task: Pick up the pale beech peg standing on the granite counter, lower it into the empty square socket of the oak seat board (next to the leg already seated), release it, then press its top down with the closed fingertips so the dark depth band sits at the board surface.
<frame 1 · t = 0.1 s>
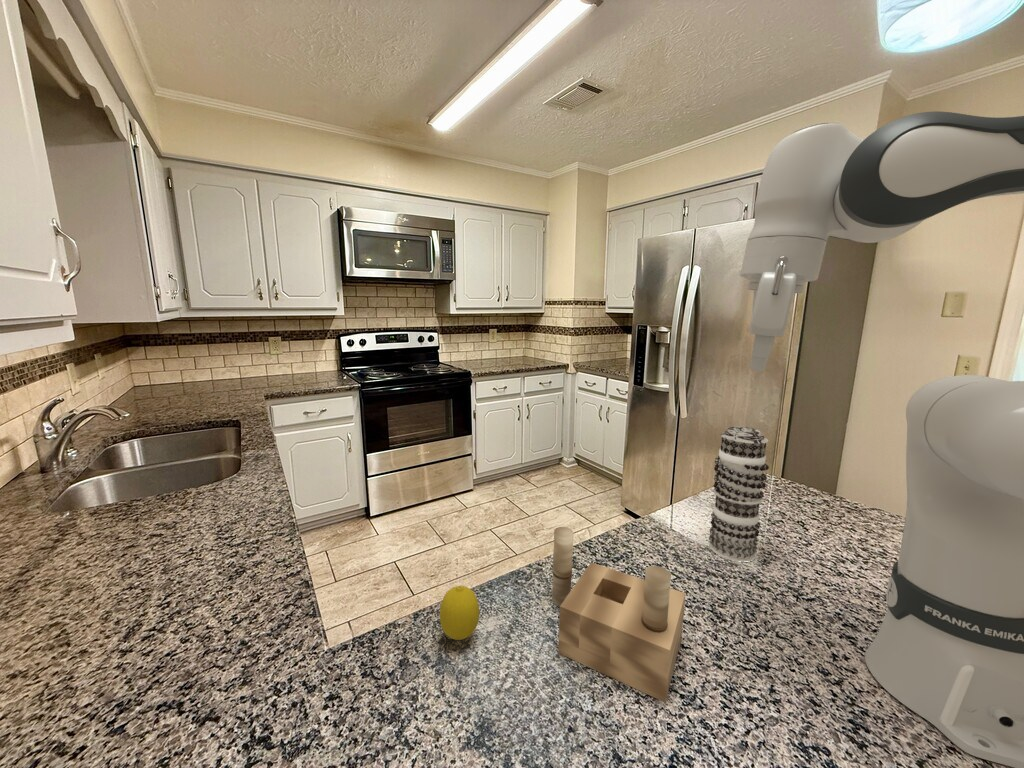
hand: (756, 367, 57), 39 cm above the countertop, tool pointing down, fingers open, 8 cm apart
peg: (561, 600, 66), on the countertop
lemon: (459, 639, 58), on the countertop
decorative candle: (732, 551, 82), on the countertop
seat board: (621, 644, 57), on the countertop
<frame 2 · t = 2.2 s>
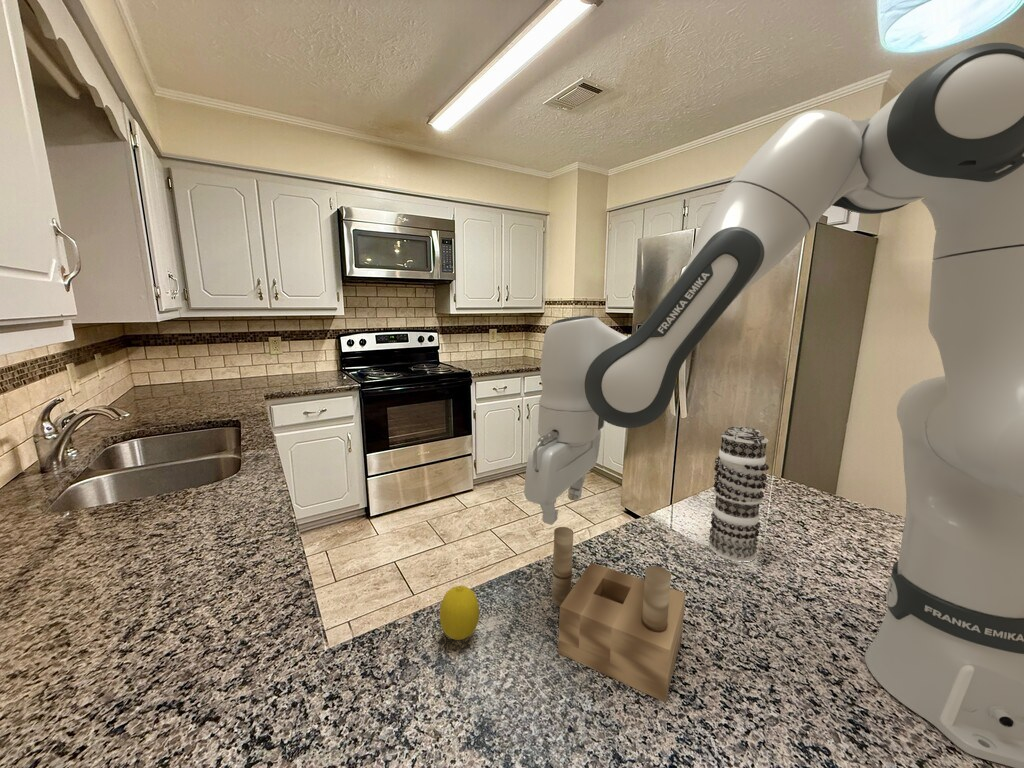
hand: (562, 509, 64), 16 cm above the countertop, tool pointing down, fingers open, 8 cm apart
nothing on the countertop moved.
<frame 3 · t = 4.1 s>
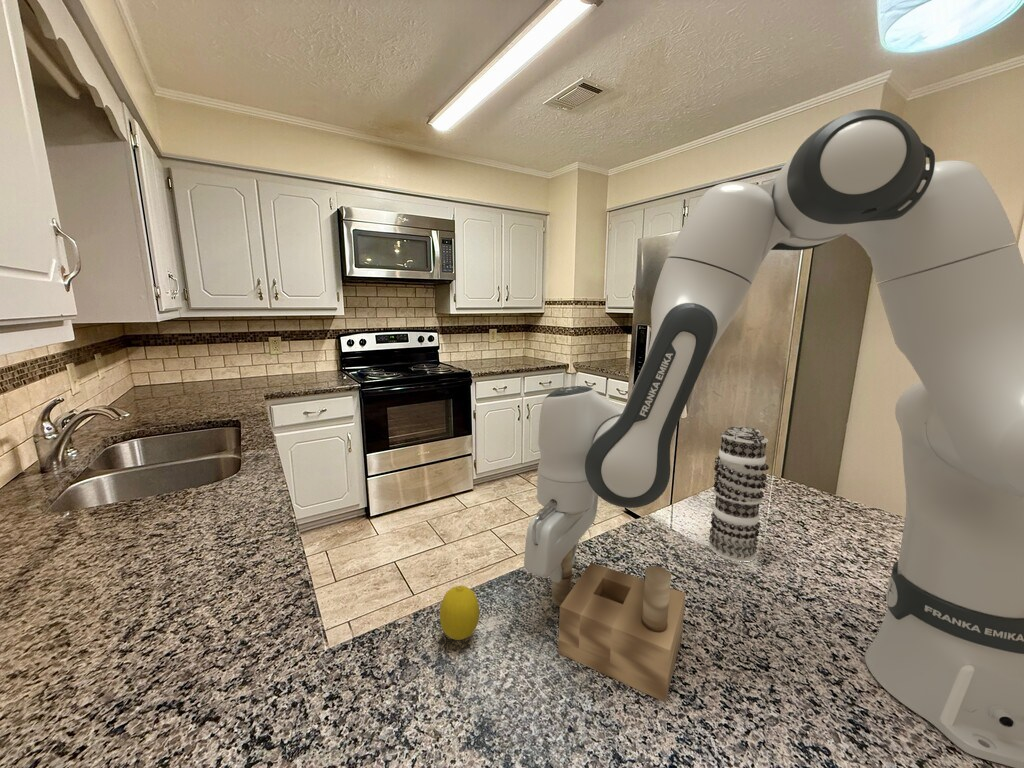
hand: (562, 571, 65), 5 cm above the countertop, tool pointing down, fingers closed on peg, 3 cm apart
peg: (561, 600, 66), on the countertop, touching gripper
everything else where it was.
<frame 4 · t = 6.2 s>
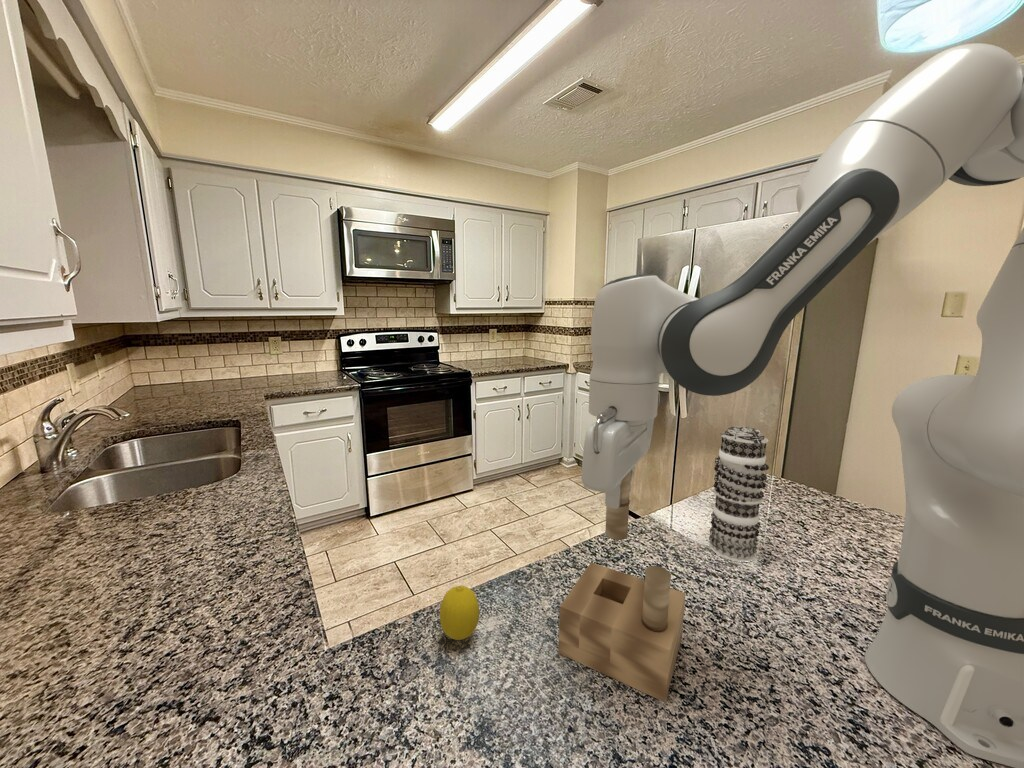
hand: (618, 499, 56), 21 cm above the countertop, tool pointing down, fingers closed on peg, 3 cm apart
peg: (616, 534, 57), point 15 cm above the countertop, touching gripper
everything else where it was.
when the fingers open (9 cm above the countertop, at t = 8.2 s): peg drops 1 cm, resting on seat board.
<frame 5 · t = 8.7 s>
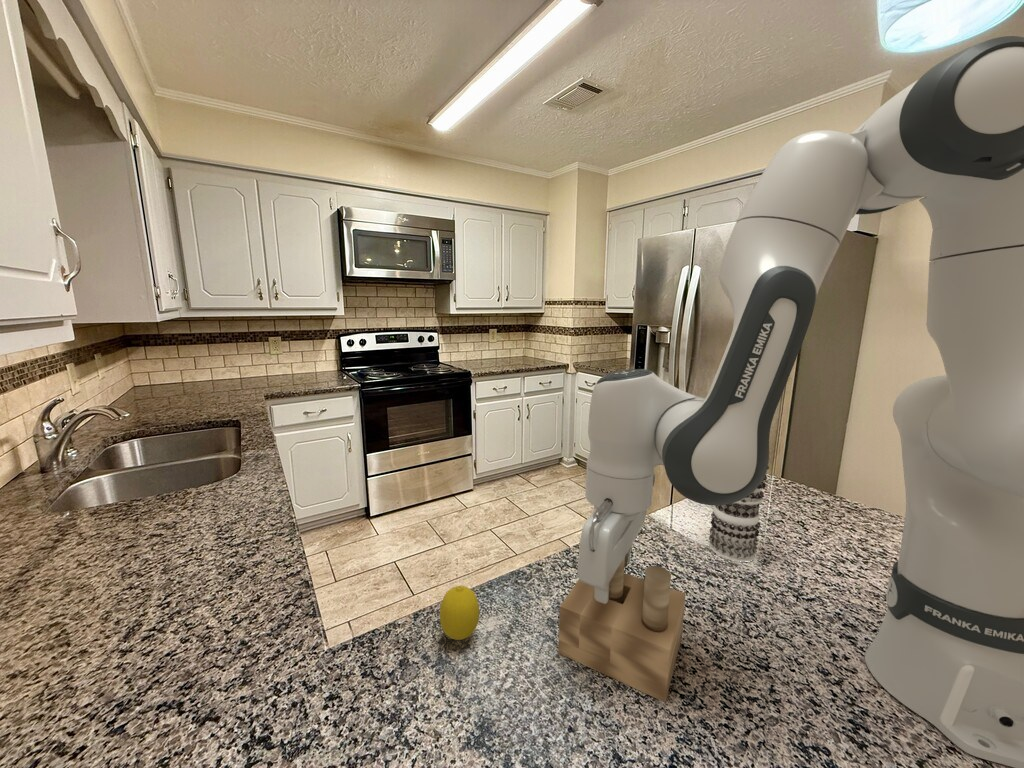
hand: (613, 580, 58), 9 cm above the countertop, tool pointing down, fingers open, 8 cm apart
peg: (610, 621, 59), point 2 cm above the countertop, touching seat board
everything else where it was.
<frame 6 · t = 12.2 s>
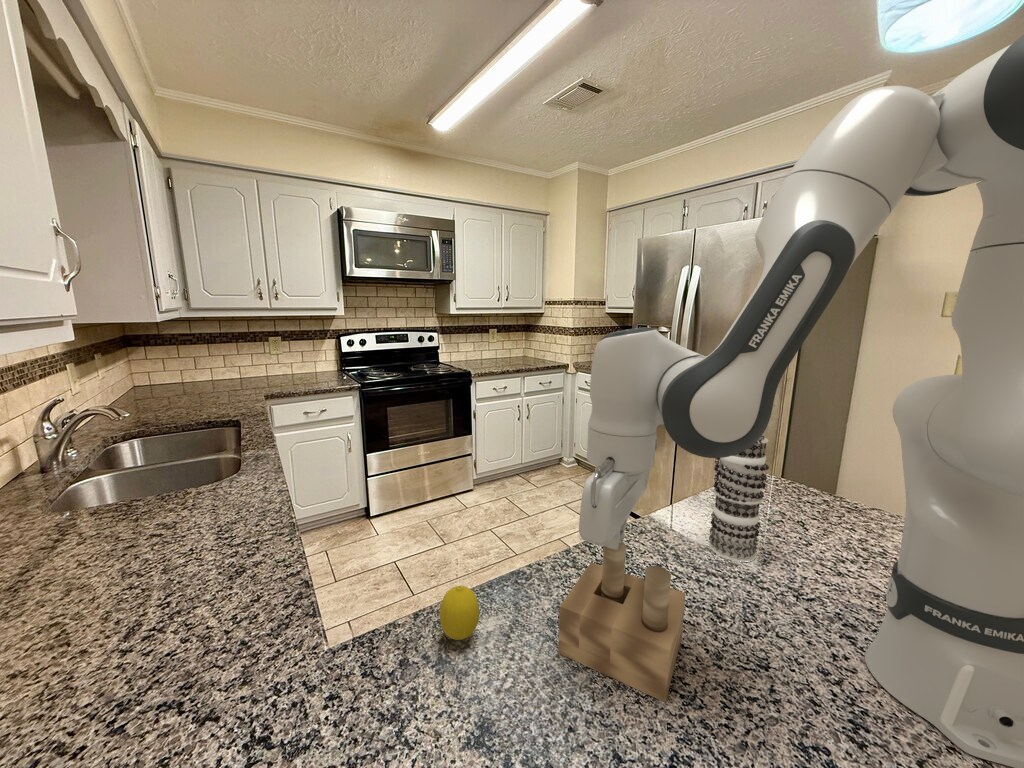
hand: (614, 544, 57), 14 cm above the countertop, tool pointing down, fingers closed, pressing on peg
peg: (610, 622, 59), point 2 cm above the countertop, touching gripper, seat board
everything else where it was.
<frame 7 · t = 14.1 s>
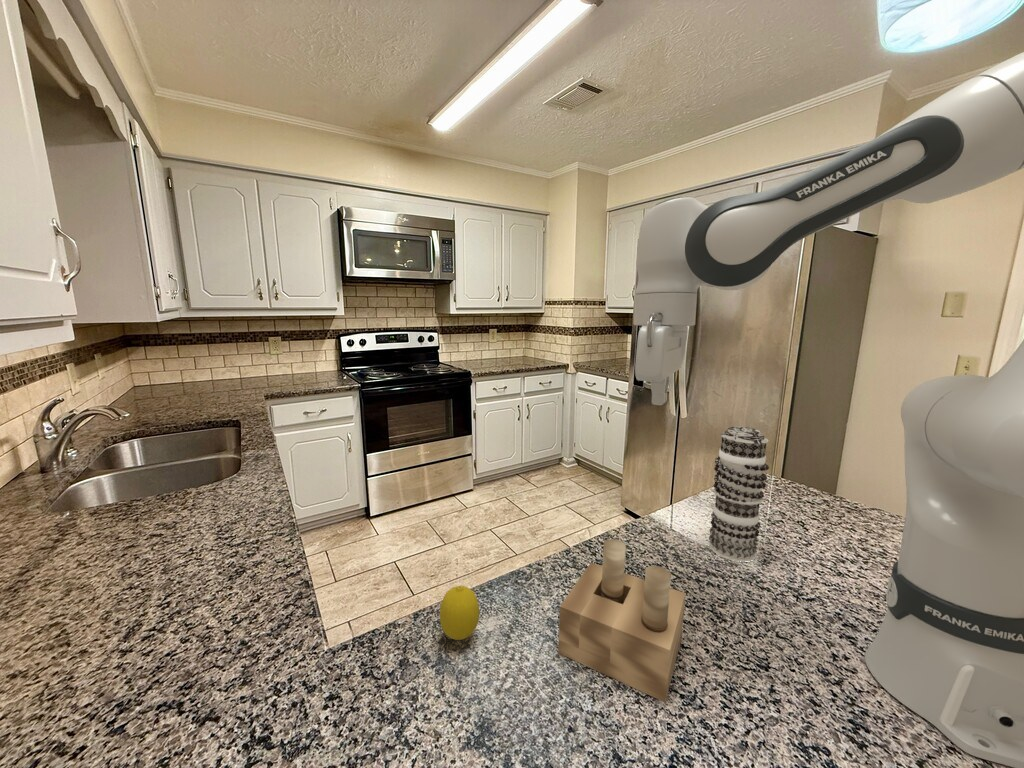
hand: (659, 403, 64), 32 cm above the countertop, tool pointing down, fingers closed
peg: (610, 622, 59), point 2 cm above the countertop, touching seat board
everything else where it was.
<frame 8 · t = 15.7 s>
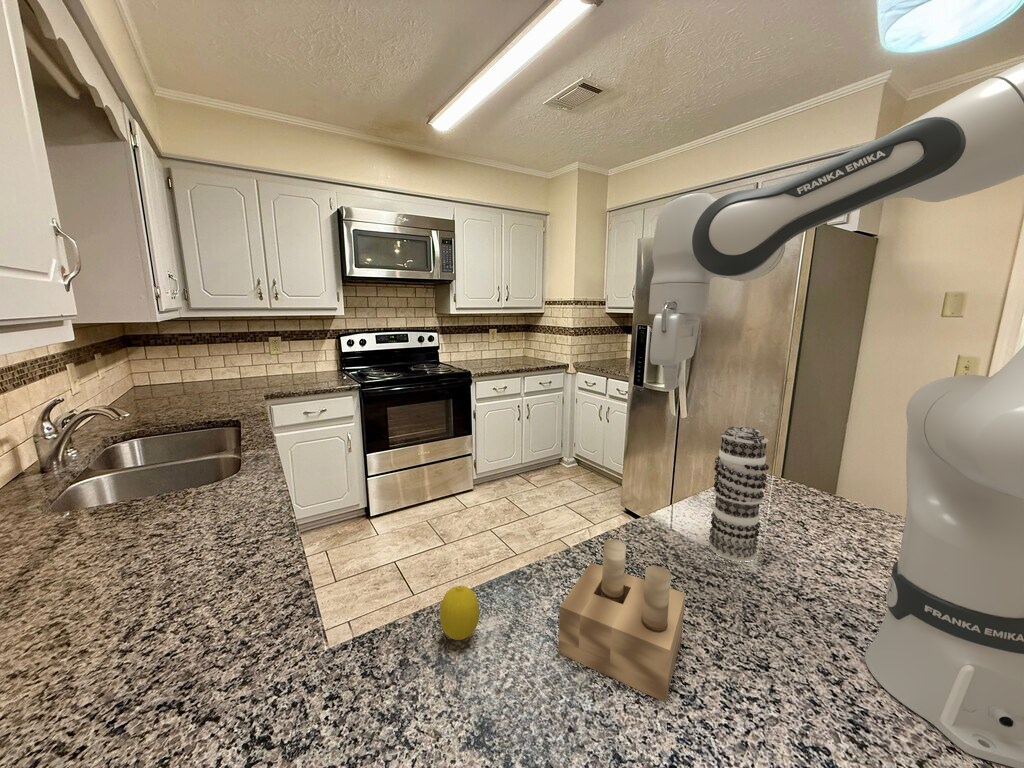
hand: (671, 388, 68), 34 cm above the countertop, tool pointing down, fingers closed
nothing on the countertop moved.
at the end: peg 0.0 cm from the target spot on the seat board, point 2.0 cm above the seat board's base; peg tilted 0°; the gripper is holding nothing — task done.
